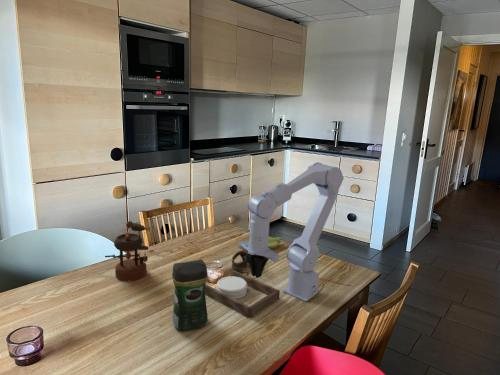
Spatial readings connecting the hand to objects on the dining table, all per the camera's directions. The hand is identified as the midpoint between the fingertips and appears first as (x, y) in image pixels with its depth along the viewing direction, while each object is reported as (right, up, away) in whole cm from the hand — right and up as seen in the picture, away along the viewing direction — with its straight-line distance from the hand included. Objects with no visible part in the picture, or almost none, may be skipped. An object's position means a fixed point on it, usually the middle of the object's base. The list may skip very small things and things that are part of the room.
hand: (256, 276), depth 112 cm
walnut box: (-5, -8, +6) cm, 11 cm away
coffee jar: (-19, -11, -9) cm, 24 cm away
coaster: (-8, -8, +9) cm, 14 cm away
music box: (-45, -4, +16) cm, 48 cm away
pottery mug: (-4, -4, +26) cm, 26 cm away
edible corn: (+4, 0, +45) cm, 45 cm away
